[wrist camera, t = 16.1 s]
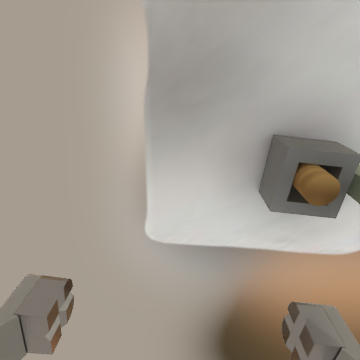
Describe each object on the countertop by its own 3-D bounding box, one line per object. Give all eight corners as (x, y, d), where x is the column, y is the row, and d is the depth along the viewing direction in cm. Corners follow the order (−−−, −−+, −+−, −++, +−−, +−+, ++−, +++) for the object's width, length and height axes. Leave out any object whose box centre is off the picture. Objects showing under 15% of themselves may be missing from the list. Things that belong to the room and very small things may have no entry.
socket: (273, 134, 36) (289, 147, 31) (336, 142, 36) (362, 155, 31) (258, 191, 40) (270, 211, 34) (315, 197, 40) (335, 218, 35)
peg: (283, 149, 37) (311, 173, 29) (310, 152, 37) (345, 177, 29) (275, 174, 39) (300, 204, 30) (301, 177, 39) (332, 207, 30)
